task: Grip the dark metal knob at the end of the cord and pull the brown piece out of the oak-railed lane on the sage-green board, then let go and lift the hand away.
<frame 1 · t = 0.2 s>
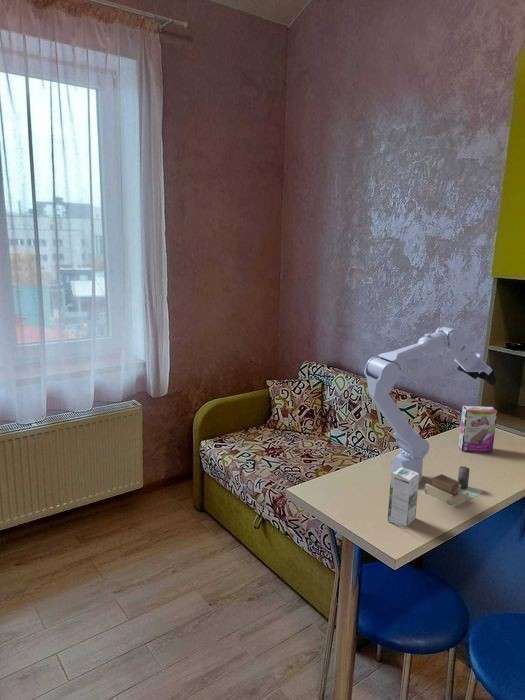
hand: (485, 379, 161), 31 cm above the table, tool tilted 45°, fingers open, 7 cm apart
lane board: (446, 496, 148), on the table
candy bar box: (475, 450, 182), on the table
brown piece: (453, 481, 149), point 4 cm above the table, slide at 0.0 cm
syrup box: (401, 521, 135), on the table
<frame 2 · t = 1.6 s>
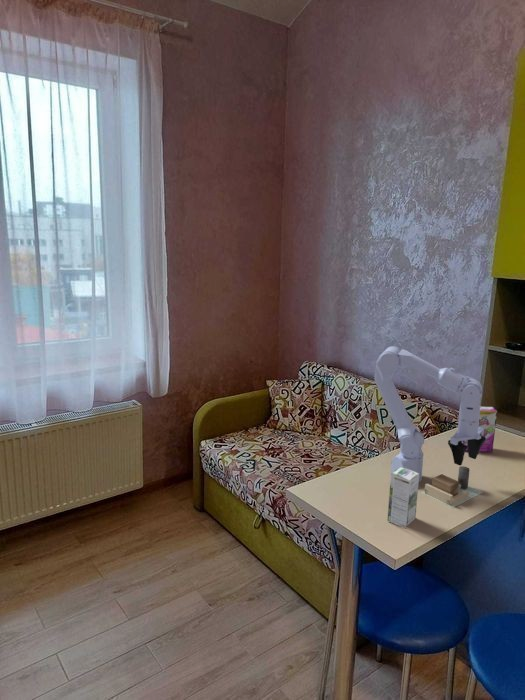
hand: (465, 461, 150), 10 cm above the table, tool pointing down, fingers open, 7 cm apart
nothing on the table moved.
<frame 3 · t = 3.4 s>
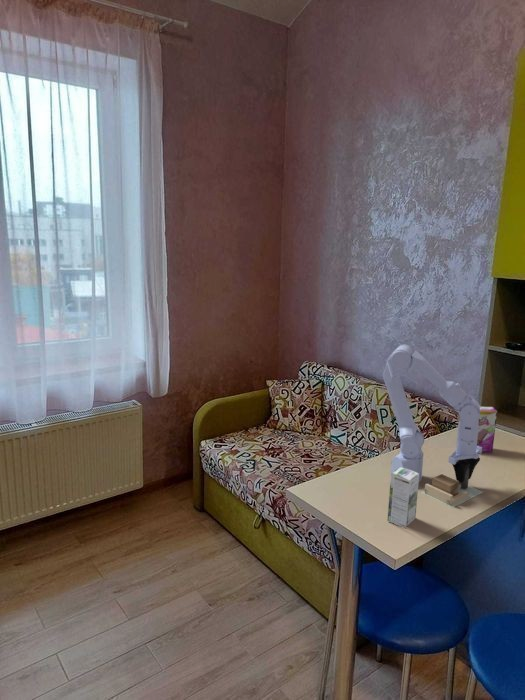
hand: (463, 479, 152), 3 cm above the table, tool pointing down, fingers closed on brown piece, 3 cm apart
brown piece: (453, 481, 149), point 4 cm above the table, slide at 0.0 cm, touching gripper
everything else where it was.
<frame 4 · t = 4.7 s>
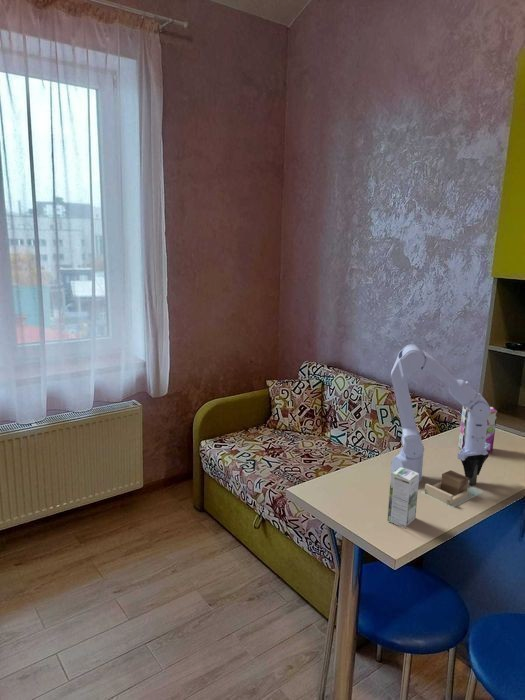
hand: (471, 475, 154), 3 cm above the table, tool pointing down, fingers closed on brown piece, 3 cm apart
brown piece: (462, 477, 151), point 4 cm above the table, slide at 4.6 cm, touching gripper
everything else where it was.
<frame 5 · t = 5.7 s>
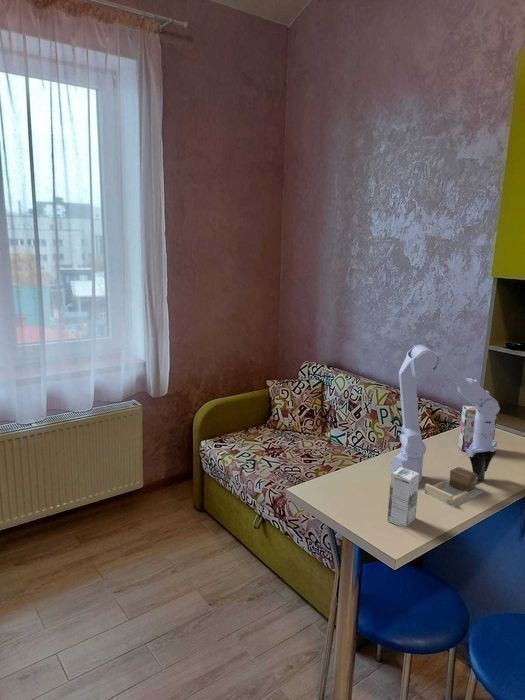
hand: (479, 471, 157), 3 cm above the table, tool pointing down, fingers closed on brown piece, 3 cm apart
brown piece: (470, 474, 154), point 4 cm above the table, slide at 8.9 cm, touching gripper
everything else where it was.
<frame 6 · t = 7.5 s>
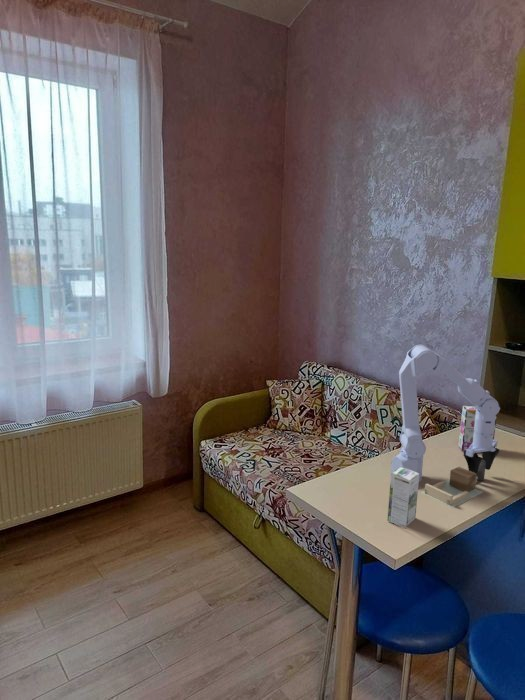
hand: (479, 471, 157), 3 cm above the table, tool pointing down, fingers open, 7 cm apart
brown piece: (470, 474, 154), point 4 cm above the table, slide at 9.0 cm
everything else where it was.
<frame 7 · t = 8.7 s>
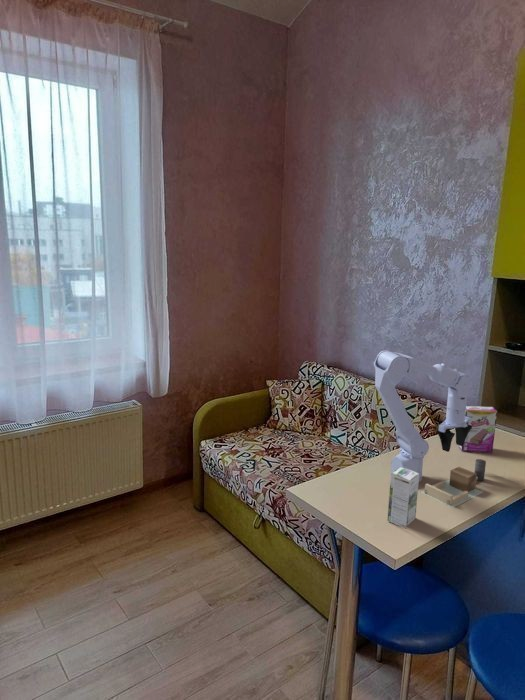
hand: (452, 447, 160), 9 cm above the table, tool pointing down, fingers open, 7 cm apart
nothing on the table moved.
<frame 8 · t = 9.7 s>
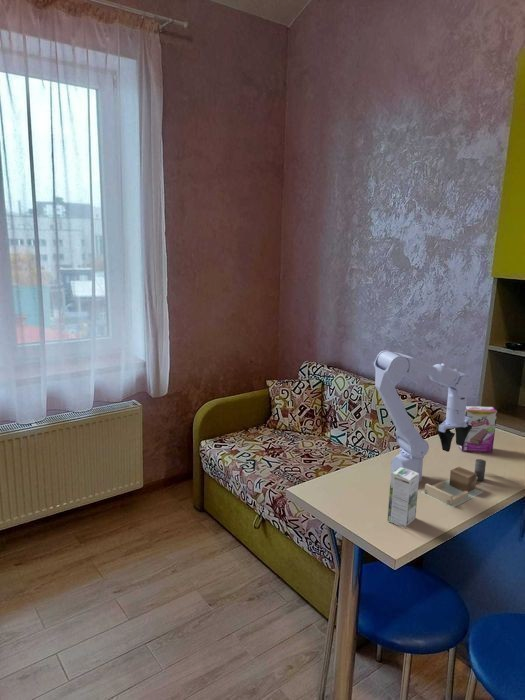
hand: (452, 447, 160), 9 cm above the table, tool pointing down, fingers open, 7 cm apart
nothing on the table moved.
at the end: brown piece slide at 9.0 cm; the gripper is holding nothing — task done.
